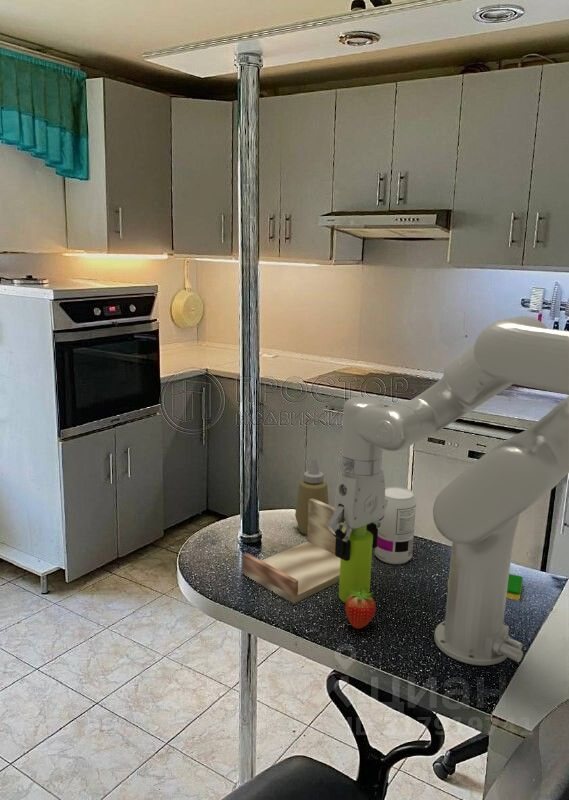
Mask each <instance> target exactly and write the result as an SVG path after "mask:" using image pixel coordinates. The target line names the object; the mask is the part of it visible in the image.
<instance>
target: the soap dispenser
mask: <svg viewBox="0 0 569 800" xmlns="http://www.w3.org/2000/svg"><path fill="white" fill-rule="evenodd" d="M343 533H345V530H344V531H343ZM348 540H349V541H351V546H350V560H348V561H345V560H343V559H341V560H340V581H339V582H338V585H339V586H338V598H339V599H340V600H341V601H342V602H343V603H345V604H346V601H347V599H348V597H349V596H351V595H350V594H349V593H351V594H353V593H352V592H351V591H350V589H349V588H351V589H352V590H354V591H356V592H360V591H361V588H362V591H363V590H364V589H365V588H366V593H367V594H368V593H371V592H370V591H371V576H372V575H371V574H372V573H371V572H372V559H373V558H372V556H373V555H372V554H373V548H372V543H373V534H372V533H371V532H369V531H367V525H365V526H363V527H361V528H358V529H352V531H351V534H350V537H349V539H348Z"/></svg>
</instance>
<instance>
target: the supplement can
mask: <svg viewBox="0 0 569 800" xmlns="http://www.w3.org/2000/svg"><path fill="white" fill-rule="evenodd" d="M385 501H386V502H387V507H386V509H385V512H384V516H383V517H382V519H381V521H380V524H381V525H380V527H379V528H377V529H378V539H377V547H376V548H374V556H376V557H377V558H378V560H380V561H382V562H383V563H386V564H391V565H401V564H406V563H408V561H410V560H411V559H412V558H413V552H414V551H413V550H414V549H413V548H414V536H415V524H416V513H417V511H416V510H417V499H416V497H415V494H414V492H413V491H412V490H410V489H408V488H405V487H402V486H387V487H385Z"/></svg>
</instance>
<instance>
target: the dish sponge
mask: <svg viewBox="0 0 569 800" xmlns="http://www.w3.org/2000/svg"><path fill="white" fill-rule="evenodd" d="M523 578H524V577H523V576H522V575H521V576H520V575H515V574H512V573H511V574H510V573H509V578H508V587H507V596H506V597H507V598H512V599H516V600H518V599H521V594H520V593H521V591H522V587H523ZM448 583H449V575H448V576H447V587H448Z"/></svg>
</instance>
